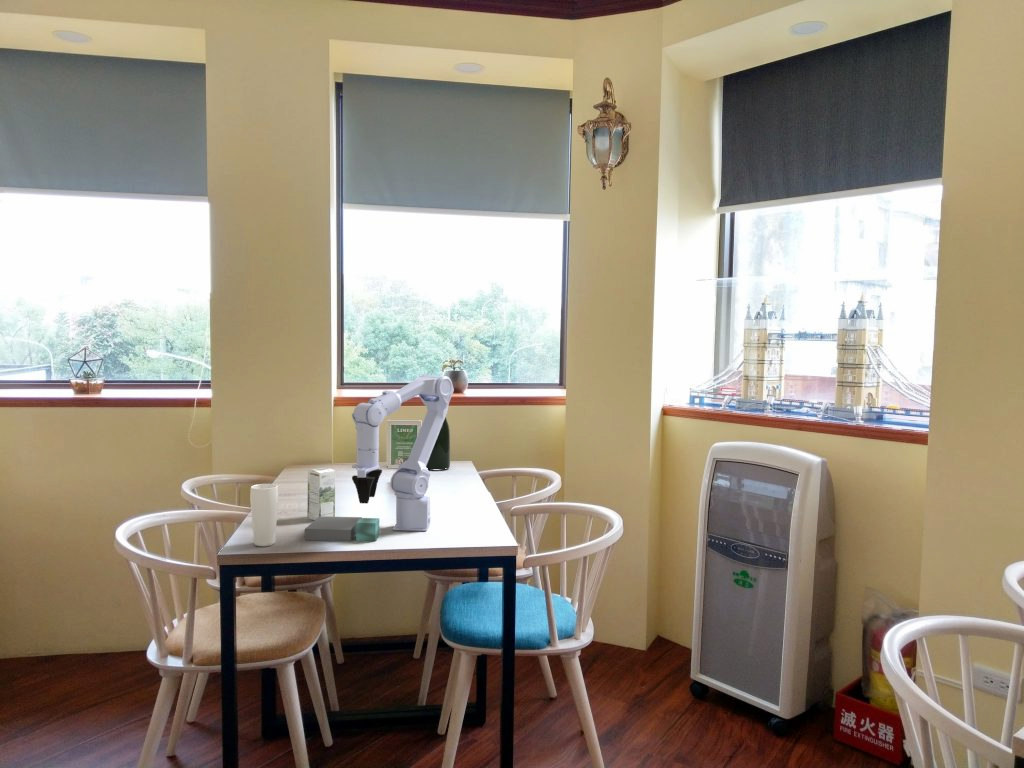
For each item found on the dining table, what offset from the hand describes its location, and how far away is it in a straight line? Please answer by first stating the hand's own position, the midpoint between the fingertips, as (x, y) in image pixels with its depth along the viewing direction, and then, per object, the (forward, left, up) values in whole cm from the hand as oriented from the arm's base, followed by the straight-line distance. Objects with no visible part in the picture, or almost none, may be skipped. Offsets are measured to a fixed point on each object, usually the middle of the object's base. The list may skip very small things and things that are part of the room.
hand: (367, 499), depth 190 cm
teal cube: (0, 0, -11) cm, 11 cm away
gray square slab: (+10, -4, -10) cm, 15 cm away
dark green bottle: (-6, -103, -11) cm, 104 cm away
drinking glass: (+25, +7, -11) cm, 28 cm away
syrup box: (+18, -20, -11) cm, 29 cm away
